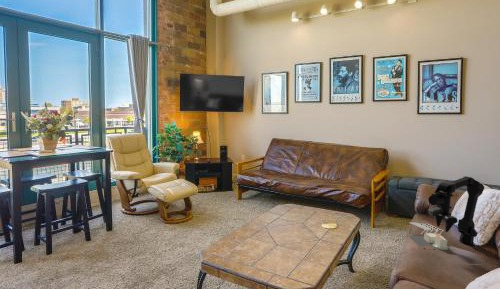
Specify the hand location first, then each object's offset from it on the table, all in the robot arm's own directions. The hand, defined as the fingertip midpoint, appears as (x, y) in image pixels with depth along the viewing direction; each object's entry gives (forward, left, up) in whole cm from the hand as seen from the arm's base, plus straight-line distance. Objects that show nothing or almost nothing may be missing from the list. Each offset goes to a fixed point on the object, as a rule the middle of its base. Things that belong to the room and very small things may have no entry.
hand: (442, 229), depth 194 cm
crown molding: (-9, -30, -12) cm, 34 cm away
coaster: (0, +1, -11) cm, 11 cm away
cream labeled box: (0, -8, -11) cm, 14 cm away
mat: (+4, -6, -12) cm, 14 cm away
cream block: (0, +1, -10) cm, 10 cm away
